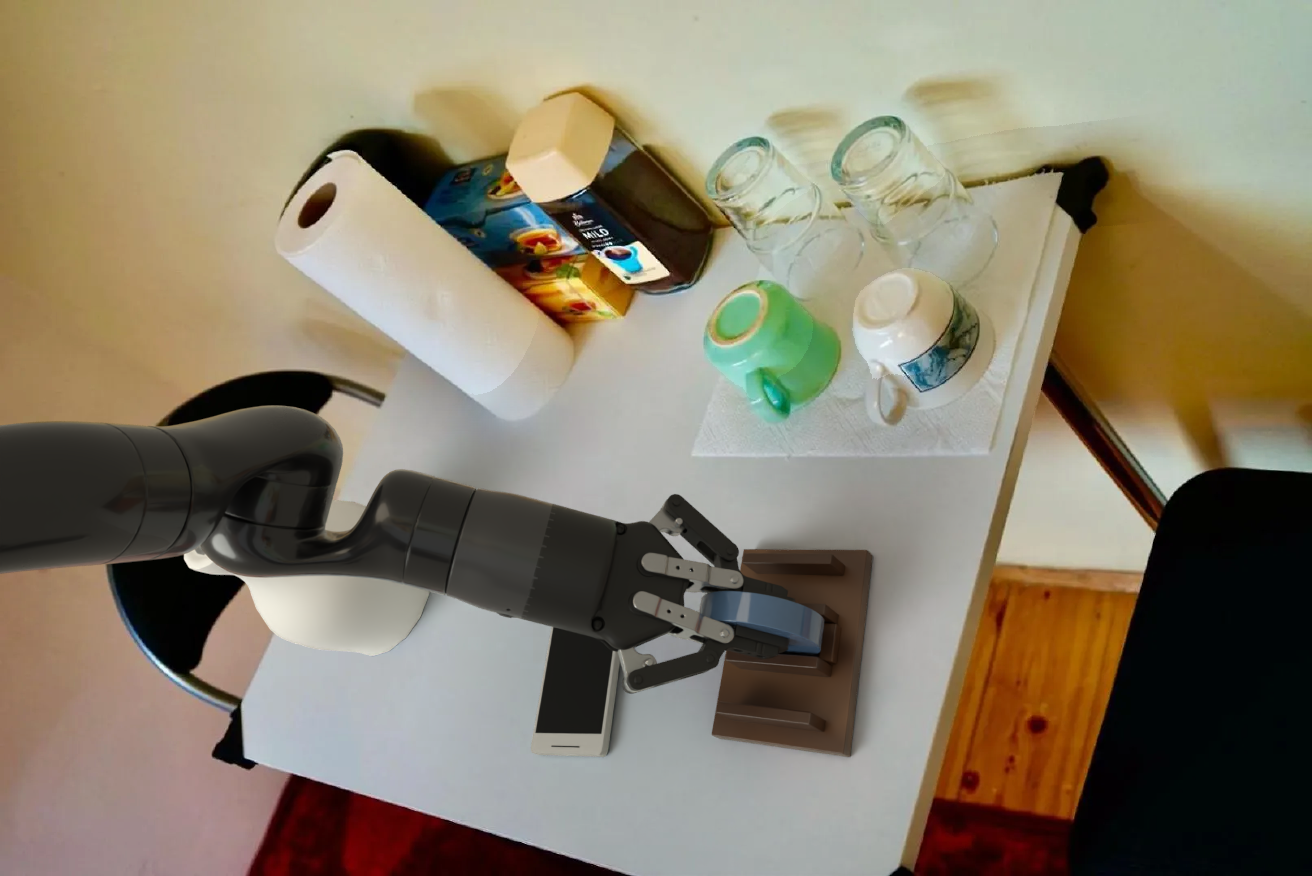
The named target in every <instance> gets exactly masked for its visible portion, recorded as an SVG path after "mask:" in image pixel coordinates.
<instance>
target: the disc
mask: <svg viewBox="0 0 1312 876" xmlns="http://www.w3.org/2000/svg"><path fill="white" fill-rule="evenodd" d="M698 612H700V613H701V614H702V615H703V616H706V617H708V618H711V619H714V620H717V621H720V622H722V623H725V624H728V625H730V626H731V627H734V626H736V625H740V626H744V627H748V628H751V629H755V630H759V631H763V632H767V633H771V634H775V635H778V636H782V637H786V638H788V639H789V646H788V650H787V651H784V652H782V653H778V654H788V655H801V656H813V655H817V654H819V653H820V651H821V646H822V638H823V631H824V623H825V621H824V618H823V617H822V616H821V615H820V614H819V613H817V612H816V611H814V610H812V609H810V608H808V607H806V606H803V605H801V604H798V603H795V602H792V601H789V600H785V599H782V598H778V597H774V596H769V595H764V594H758V593H751V592H741V591H718V592H711V593H704V594H703V595H702V596H701V598H700V601H699V607H698Z"/></svg>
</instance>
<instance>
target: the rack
mask: <svg viewBox="0 0 1312 876" xmlns="http://www.w3.org/2000/svg"><path fill="white" fill-rule="evenodd" d="M873 558H874V556H873V554H872V553H871V552H870V551H869V550H868V549H805V548H803V549H799V548H798V549H797V548H796V549H795V548H794V549H793V548H791V549H786V548H784V549H783V548H782V549H781V548H779V549H777V548H776V549H775V548H771V549H770V548H766V549H765V548H764V549H763V548H747V549H746V548H744V549H743V551H742V556H741V562H740V567H739V570H740V572H741V573H742V574H743V575H744V576H746V577H749V578H753V579H757V580H761V581H765V582H768V583H772V584H776V585H780V586H782V587H783V588H785V589H786V590H788V594H787V596H788V597H791V598H794V599H795V603H798V604H801V605H803V606H806V607H808V608H810V609H812V610H814V611H816V612H817V613H819V614H820V615H821V616H822V617H823V618H824V621H825V623H824V631H823V638H822V646H821V651H820V653H819V654H817V655H813V656H801V655H788V654H778V656H775V657H773V658H770V659H760V658H756V657H752V656H748V655H744V654H740V653H736V652H732V651H725V655H724V661H723V665H722V666H723V667H722V672H721V678H720V683H719V690H718V696H717V700H716V707H715V711H714V717H713V724H712V729H711V736H713V737H715V738H717V739H719V740H726V741H732V742H733V741H734V742H740V743H746V744H747V743H748V744H753V745H762V746H767V747H768V746H769V747H775V748H782V749H788V750H795V751H801V752H802V751H803V752H808V753H809V752H810V753H815V754H822V755H829V756H838V757H844V758H850V757H851V753H852V745H853V744H852V743H853V734H854V725H855V718H856V708H857V701H858V700H857V698H858V690H859V683H860V674H861V673H860V672H861V665H862V663H861V662H862V655H863V645H864V639H865V637H864V636H865V628H866V627H865V626H866V620H867V613H868V612H867V610H868V601H869V593H870V586H871V585H870V584H871V575H872V567H873Z"/></svg>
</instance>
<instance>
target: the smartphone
mask: <svg viewBox="0 0 1312 876" xmlns="http://www.w3.org/2000/svg"><path fill="white" fill-rule="evenodd" d="M549 632H550V633H549V639H548V644H547V649H546V650H547V651H546V655H545V662H544V668H543V673H542V679H541V686H540V692H539V697H538V701H537V702H538V703H537V708H536V713H535V720H534V726H533V732H532V736H531V737H532V738H531V743H530V751H531V753H532V754H534V755H538V756H559V757H560V756H561V757H594V758H595V757H596V758H604V757H606V756H607V754H608V752H609V748H610V739H611V732H612V725H613V717H614V709H615V702H616V694H617V687H618V681H619V671H620V666H621V663H620V659H619V655H618V652H615V651H612V650H611V649H609V648H608V647H607V646H606V645H605V644H604V643H602V642H601V641H600V640H598V639H596V638H594V637H590V636H586V635H582V634H578V633H575V632H571V631H567V630H563V629H559V628H555V627H551V626H550V631H549Z"/></svg>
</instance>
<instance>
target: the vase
mask: <svg viewBox="0 0 1312 876" xmlns="http://www.w3.org/2000/svg"><path fill="white" fill-rule="evenodd" d="M366 506H367V505H364V504H362V503H358V502H355V501H348V500H341V499H340V500H339V499H333V500H332V503H331V507H330V511H329V514H328V518H327V522H326V524H325V525H326V526H325V530H328V531H335V532H341V531H347V530H350V529H352V528H353V527H354V526H355V525H356V523H357V522H358V520H359V519H360V517H361V515H362V514H363V512H364V510H365V508H366ZM183 560H184V562H185V563H186V565H187V567H188V568H189V569H190V570H193V571H195V572H200V573H204V574H209V575H216V576H219V575H220V576H224V575H225V576H235V577H237V578H239V579H240V580H241V581H243V582H244V583H245V584H246V586H247V587H248V589H249V593H250V595H251V598H252V601H253V605H254V606H255V609H256V611H257V612H258V614H259V615H260V617H261V618H262V620H263V621H264V623H265V624H266V626H267V627H268V629H269V630H270V631H271V632H272V633H274V635H275V636H277V637H278V638H280V639H282V640H284V641H286V642H289V643H292V644H294V645H295V644H296V645H298V646H299V645H300V646H303V647H306V648H309V649H314V650H320V651H330V652H347V653H348V652H349V653H357V654H362V655H366V656H370V657H375V656H378V655H381V654H384V653H388V652H391V650H392V649H393V648H395V647H396V646H397V645H399V644H400V643H401V642H403V641H404V640H405V639H406V638H407V637H408V636H409V634H410V633H411V631H412V630H413V629H414V627H415V626H416V624H417V623H418V622H419V620H420V618H421V617H422V614H423V611H424V609H425V607H426V603H427V602H428V599H429V596H430V592H429V591H425V590H421V589H418V588H414V587H410V586H406V585H402V584H398V583H394V582H389V581H384V580H378V579H369V578H357V577H338V576H302V577H276V578H261V577H246V576H241V575H237V574H234V573H231V572H228V571H226V570H224V569H223V568H221V567H219V566H218V565H216V564H215V563H214V562H213V561H212V560H210V559H209V558H208V557H207V555H206V554H205V553H204V552H203V550H202V548H201V546H199V547H198V548H196V549H195V550H193V551H191V552H189V553H186V554H183Z"/></svg>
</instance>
